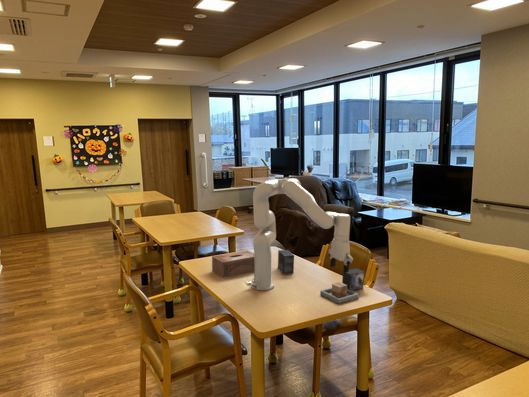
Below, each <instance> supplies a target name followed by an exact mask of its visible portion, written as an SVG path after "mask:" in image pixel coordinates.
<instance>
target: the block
mask: <svg viewBox="0 0 529 397" xmlns="http://www.w3.org/2000/svg"><path fill="white" fill-rule="evenodd" d="M331 288H332V295H333V296H335V297H337V298H342V297H346V296H347V285H345V284H343V283H342V282H341V281H338V282H335V283H332V284H331Z"/></svg>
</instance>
